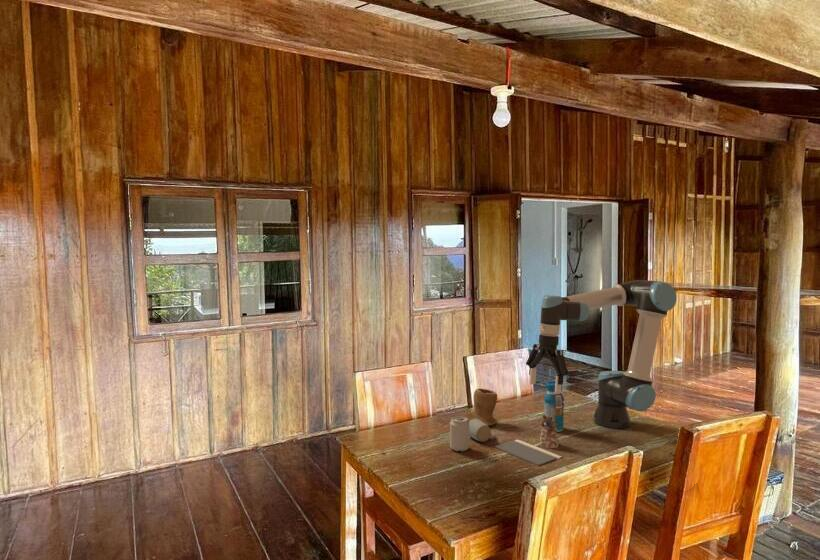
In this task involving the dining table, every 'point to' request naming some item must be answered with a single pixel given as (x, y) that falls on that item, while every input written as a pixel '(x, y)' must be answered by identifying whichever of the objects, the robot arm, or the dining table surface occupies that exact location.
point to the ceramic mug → (479, 430)
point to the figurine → (549, 433)
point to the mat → (525, 453)
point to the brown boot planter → (483, 406)
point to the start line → (538, 449)
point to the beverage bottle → (554, 405)
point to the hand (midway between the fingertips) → (544, 388)
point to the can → (459, 434)
